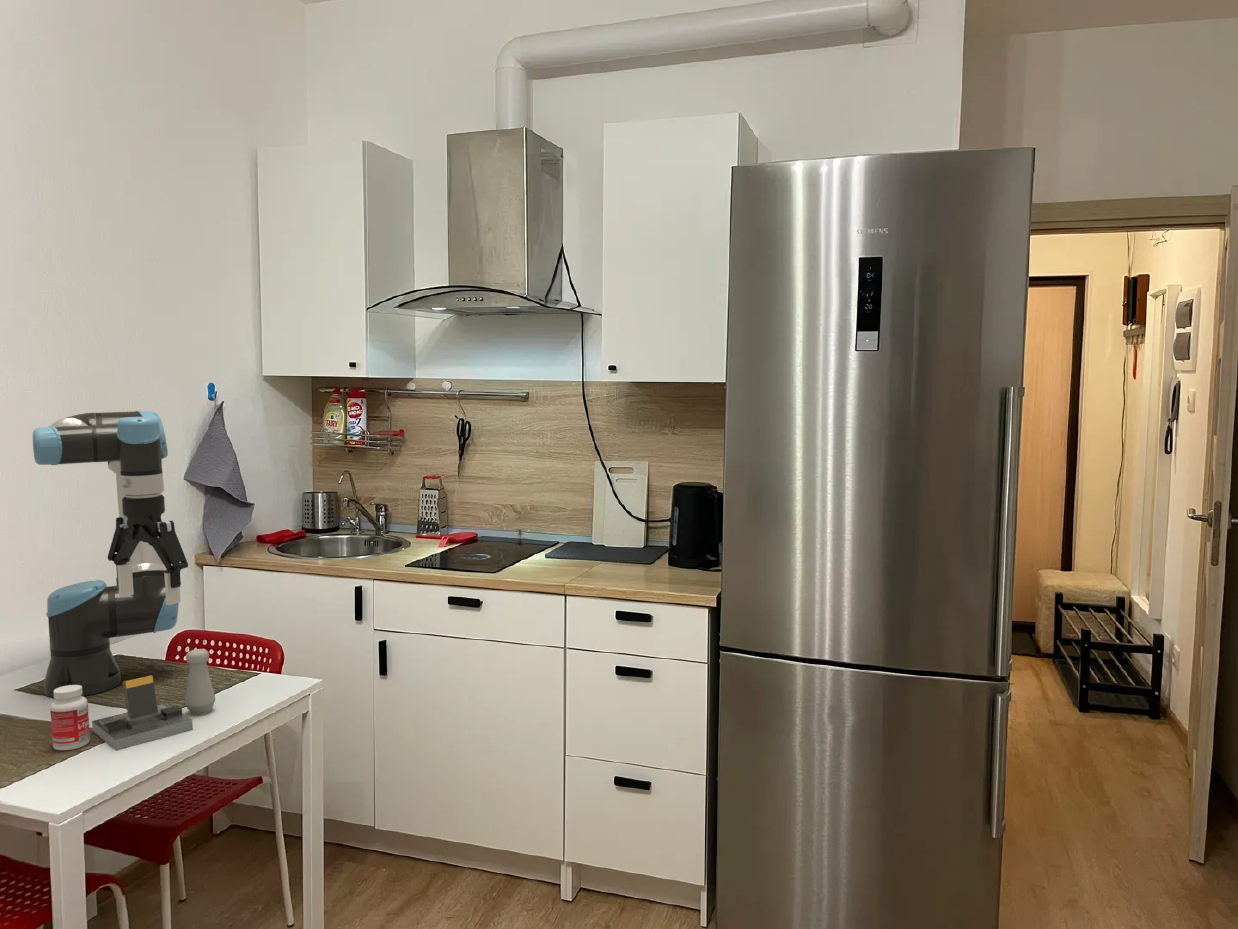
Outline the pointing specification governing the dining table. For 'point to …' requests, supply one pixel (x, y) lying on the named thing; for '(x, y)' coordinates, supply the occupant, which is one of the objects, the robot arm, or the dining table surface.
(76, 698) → the pill bottle
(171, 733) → the panel
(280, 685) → the dining table surface
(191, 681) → the salt shaker
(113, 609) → the robot arm
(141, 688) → the paddle
